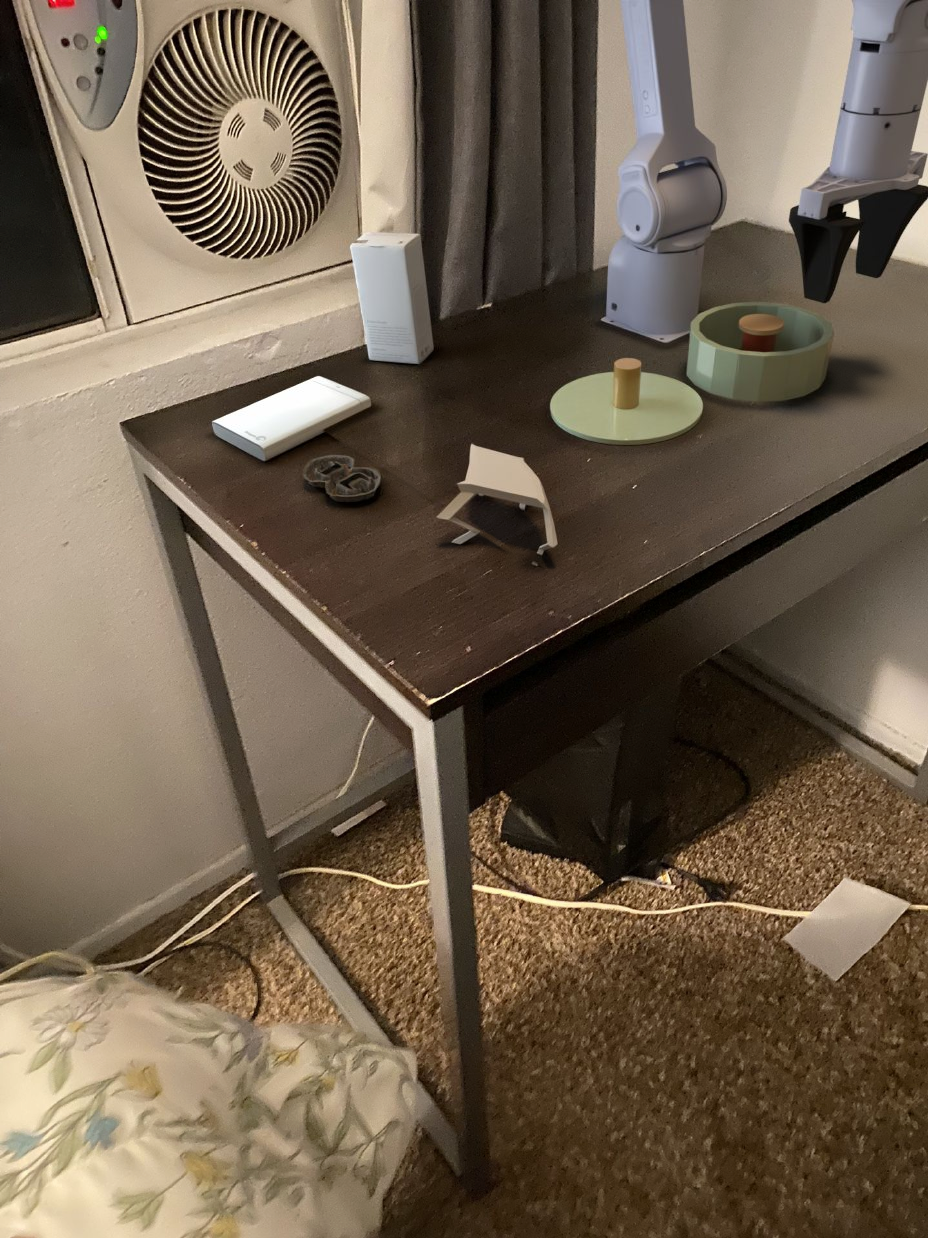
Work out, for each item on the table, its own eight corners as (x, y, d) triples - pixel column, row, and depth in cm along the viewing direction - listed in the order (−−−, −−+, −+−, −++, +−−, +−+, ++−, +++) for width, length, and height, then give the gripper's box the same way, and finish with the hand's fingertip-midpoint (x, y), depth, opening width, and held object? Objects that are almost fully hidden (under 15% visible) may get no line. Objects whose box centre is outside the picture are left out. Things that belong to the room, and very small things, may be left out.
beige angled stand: (412, 530, 70) (405, 475, 67) (486, 486, 74) (483, 432, 71) (529, 592, 63) (528, 533, 60) (603, 539, 67) (606, 481, 64)
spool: (723, 373, 87) (730, 322, 83) (749, 360, 88) (757, 310, 85) (758, 386, 84) (766, 333, 81) (784, 372, 86) (793, 320, 83)
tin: (658, 378, 87) (661, 329, 84) (741, 339, 93) (748, 291, 90) (767, 421, 80) (775, 368, 76) (851, 375, 85) (862, 324, 82)
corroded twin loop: (336, 457, 79) (334, 447, 78) (396, 488, 74) (395, 477, 74) (290, 480, 77) (288, 470, 76) (349, 514, 72) (347, 503, 71)
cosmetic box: (435, 349, 96) (424, 231, 88) (419, 367, 93) (407, 245, 85) (382, 345, 98) (367, 228, 90) (365, 362, 95) (348, 242, 87)
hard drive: (262, 447, 78) (370, 395, 85) (210, 419, 83) (316, 372, 90) (266, 463, 80) (372, 411, 86) (214, 436, 84) (319, 388, 91)
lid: (519, 415, 83) (518, 365, 80) (621, 369, 90) (624, 320, 86) (629, 468, 75) (632, 414, 72) (733, 413, 81) (740, 361, 78)
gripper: (874, 132, 63) (835, 323, 71) (981, 95, 69) (933, 274, 78) (787, 120, 67) (760, 301, 76) (895, 86, 74) (859, 256, 82)
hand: (843, 286), depth 77 cm, fingers open, 7 cm apart
